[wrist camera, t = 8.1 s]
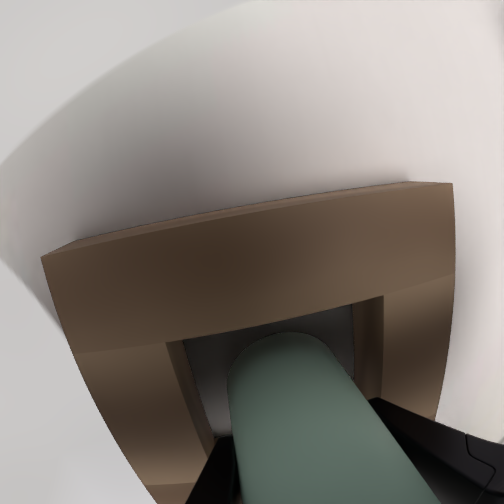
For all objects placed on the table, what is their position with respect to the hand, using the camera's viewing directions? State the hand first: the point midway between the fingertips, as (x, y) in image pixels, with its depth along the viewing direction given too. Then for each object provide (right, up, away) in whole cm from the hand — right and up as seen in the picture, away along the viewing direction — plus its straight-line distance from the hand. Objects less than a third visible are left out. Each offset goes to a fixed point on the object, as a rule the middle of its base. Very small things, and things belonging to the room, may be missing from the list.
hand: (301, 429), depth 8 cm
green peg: (0, +1, +2) cm, 3 cm away
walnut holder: (-1, +1, +3) cm, 4 cm away
